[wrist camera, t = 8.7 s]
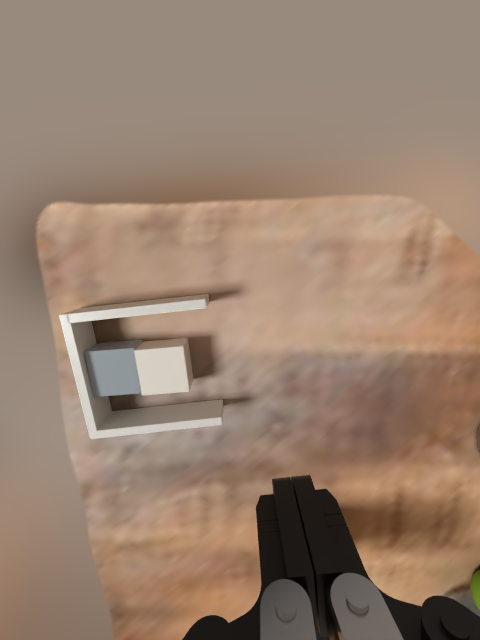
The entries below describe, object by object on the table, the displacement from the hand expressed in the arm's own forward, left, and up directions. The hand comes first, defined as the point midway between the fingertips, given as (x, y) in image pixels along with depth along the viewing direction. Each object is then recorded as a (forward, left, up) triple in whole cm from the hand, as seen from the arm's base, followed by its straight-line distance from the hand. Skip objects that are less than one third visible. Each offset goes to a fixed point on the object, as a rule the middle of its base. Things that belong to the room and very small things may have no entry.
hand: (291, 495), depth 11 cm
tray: (+10, 0, -19) cm, 21 cm away
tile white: (+9, 0, -19) cm, 21 cm away
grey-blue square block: (+14, 0, -19) cm, 23 cm away
